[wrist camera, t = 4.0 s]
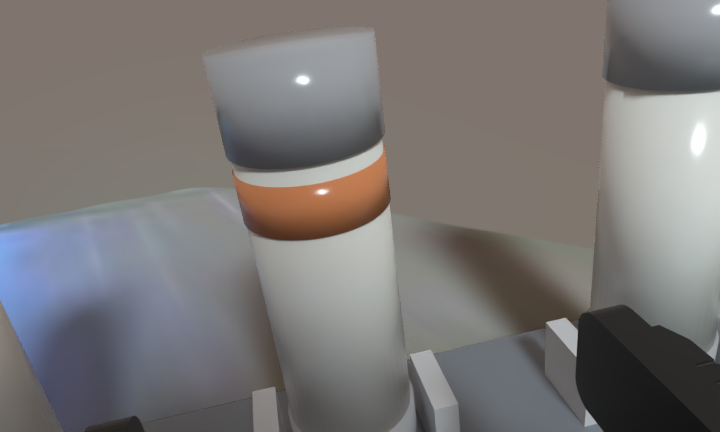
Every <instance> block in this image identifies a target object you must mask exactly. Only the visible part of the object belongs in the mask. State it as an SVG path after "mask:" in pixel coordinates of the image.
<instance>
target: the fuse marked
mask: <svg viewBox="0 0 720 432" xmlns="http://www.w3.org/2000/svg"><path fill="white" fill-rule="evenodd" d="M375 43H376V42H375V33H374V29H372V28H368V27H358V26H345V27H327V28H316V29H307V30H299V31H291V32H285V33H278V34H272V35H267V36H261V37H256V38H251V39H246V40H242V41H238V42H234V43H230V44H226V45H223V46H220V47H217V48H214V49H211V50H209V51H207V52H205V53H204V54H203V55H202V59H203V63H204V67H205V71H206V75H207V79H208V83H209V88H210V91H211V95H212V100H213V104H214V108H215V112H216V117H217V121H218V125H219V129H220V133H221V137H222V141H223V146H224V150H225V153H226V157H227V159H228V160H229V161H230V162H232V166H233V170H232V174H233V179H234V182H235V187H236V191H237V195H238V199H239V204H240V208H241V212H242V216H243V220H244V224H245V225H246V227H247V229H248V233H249V237H250V242H251V246H252V250H253V254H254V258H255V263H256V267H257V271H258V275H259V279H260V284H261V288H262V292H263V296H264V300H265V305H266V309H267V313H268V317H269V321H270V326H271V330H272V334H273V338H274V342H275V347H276V351H277V355H278V359H279V363H280V368H281V372H282V376H283V380H284V384H285V389H286V393H287V397H288V401H289V404H288V414H289V419H290V423H291V427H292V431H293V432H418V429H417V420H416V411H415V402H414V393H413V387H412V384H411V382H410V380H409V375H408V366H407V357H406V348H405V339H404V330H403V321H402V312H401V303H400V294H399V285H398V277H397V268H396V259H395V250H394V241H393V232H392V223H391V214H390V205H389V203H390V199H391V198H390V189H389V180H388V171H387V161H386V152H385V146H384V144H383V143H382V137H383V136H384V134H385V126H384V116H383V107H382V98H381V88H380V79H379V70H378V61H377V51H376V44H375Z"/></svg>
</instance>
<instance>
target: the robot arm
mask: <svg viewBox="0 0 720 432" xmlns="http://www.w3.org/2000/svg"><path fill="white" fill-rule="evenodd" d="M575 379H576V386H577V390H578V393H579V396H580V398H581V401H582V403H583V405H584V406H585V408H586V410H587V411H588V412H589V414H590V415H591V416H592V418H593V419H594V420H595V421H596V423H597V424H598V425H599V427H600V428H601V429H602V430H603V432H720V364H716V363H715V361H714V359H713V358H712V357H711V356H709V355H708V354H707V353H706V352H705V351H703V350H702V349H701V348H700V347H699V346H697V345H696V344H695V343H694V342H693V341H691V340H690V339H688V338H686V337H684V336H682V335H680V334H677V333H675V332H673V331H671V330H669V329H667V328H665V327H663V326H661V325H657V326H650V325H649V324H648V323H647V322H646V321H645V320H644V319H642V318H641V317H640V316H639V315H638V314H637V313H636V312H634V311H633V310H632V309H631V308H630V307H628V306H626V305H623V304H621V305H616V306H611V307H607V308H603V309H599V310H594V311H590V312H586V313H583V314H582V315H581V316H580V318H579V323H578V338H577V356H576V373H575ZM84 432H145V431H144V429H143V426H142V424H141V422H140V420H139V419H138V418H137V417H136V416H133V417H128V418H124V419H120V420H115V421H111V422H107V423H102V424H98V425H94V426H90V427H88V428H87V429H86V430H85V431H84Z"/></svg>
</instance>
